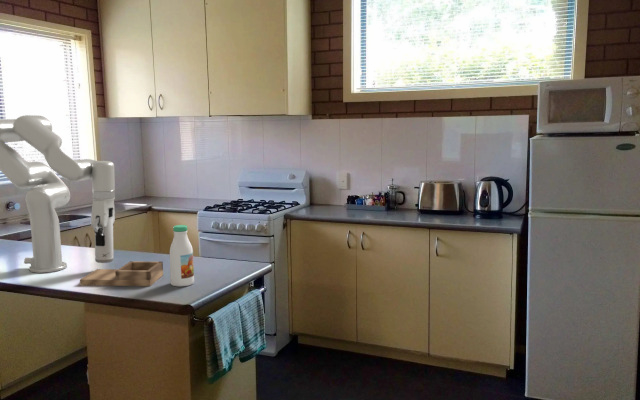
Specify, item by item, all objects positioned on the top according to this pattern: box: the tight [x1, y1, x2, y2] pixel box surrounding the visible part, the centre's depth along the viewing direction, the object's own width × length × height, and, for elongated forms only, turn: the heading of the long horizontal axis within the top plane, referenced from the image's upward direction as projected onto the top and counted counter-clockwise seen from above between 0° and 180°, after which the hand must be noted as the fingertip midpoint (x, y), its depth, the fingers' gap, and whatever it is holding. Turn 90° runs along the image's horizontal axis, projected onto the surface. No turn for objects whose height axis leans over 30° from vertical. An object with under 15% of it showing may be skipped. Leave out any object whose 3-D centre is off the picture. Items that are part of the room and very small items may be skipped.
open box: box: [79, 260, 164, 287], centre depth 189 cm, size 24×13×5 cm, turn 87°
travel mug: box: [94, 208, 114, 264], centre depth 200 cm, size 6×7×20 cm
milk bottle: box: [169, 224, 195, 287], centre depth 184 cm, size 8×8×20 cm
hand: (104, 243), depth 200 cm, fingers closed on travel mug, 6 cm apart
